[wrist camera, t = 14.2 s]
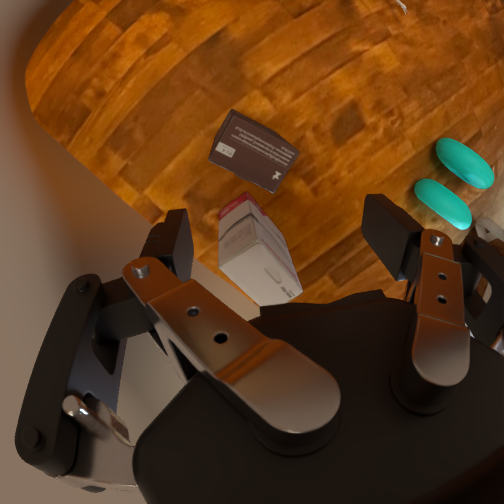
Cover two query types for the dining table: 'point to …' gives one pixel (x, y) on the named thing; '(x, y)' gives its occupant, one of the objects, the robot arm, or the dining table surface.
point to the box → (252, 151)
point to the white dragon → (401, 5)
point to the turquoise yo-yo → (464, 167)
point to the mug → (497, 239)
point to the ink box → (255, 253)
